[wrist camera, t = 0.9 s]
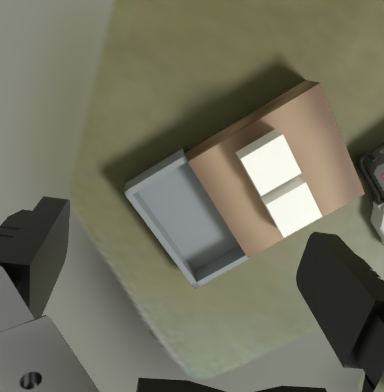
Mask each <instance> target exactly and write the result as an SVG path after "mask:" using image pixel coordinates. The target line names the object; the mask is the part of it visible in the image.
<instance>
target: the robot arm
mask: <svg viewBox="0 0 384 392" xmlns="http://www.w3.org/2000/svg"><path fill="white" fill-rule="evenodd" d="M69 216H70V201H69V200H68V199H60V198H52V197H43V198H42V199H41V200H40V202H39V203H38V204H37V206H36V207H35V208H34V210H33V211H29V210H21V211H19V212H17V213H15V214H13V215H11V216H9V217H8V218H7V219H6V220H5V221H4V222H3V223H2V224H1V226H0V392H100V391H99V390H98V388H97V387H96V385H95V384H94V382H93V381H92V379H91V378H90V376H89V375H88V373H87V372H86V370H85V369H84V367H83V366H82V364H81V363H80V361H79V360H78V358H77V357H76V355H75V354H74V352H73V351H72V349H71V348H70V346H69V345H68V343H67V342H66V340H65V339H64V337H63V336H62V334H61V333H60V331H59V330H58V328H57V327H56V325H55V324H54V322H53V321H52V319H51V318H50V317H48V316H46V315H45V316H42V314H43V311H44V309H45V307H46V304H47V302H48V300H49V297H50V295H51V292H52V290H53V288H54V285H55V283H56V281H57V278H58V276H59V273H60V271H61V269H62V267H63V264H64V261H65V258H66V253H67V247H68V232H69ZM380 278H381V277H380V276H379V275H378V274H377V273H376V272H375V271H373V269H372V268H371V267H370V266H369V265H368V264H367V263H366V262H365V261H364V260H363V259H362V258H360V257H359V256H357V255H356V254H355V253H354V252H353V251H352V250H351V249H350V248H349V247H348V246H347V245H346V244H345V243H344V242H343V241H342V240H341V238H340V237H339V236H337V235H335V234H327V233H319V232H314V233H312V234H311V235H310V237H309V239H308V242H307V245H306V248H305V250H304V253H303V256H302V259H301V261H300V264H299V267H298V270H297V275H296V281H297V286H298V289H299V291H300V292H301V294H302V296H303V298H304V299H305V301H306V303H307V305H308V306H309V308H310V310H311V312H312V313H313V315H314V317H315V319H316V320H317V322H318V324H319V325H320V327H321V329H322V331H323V332H324V334H325V336H326V338H327V339H328V341H329V343H330V345H331V346H332V348H333V350H334V351H335V353H336V355H337V357H338V358H339V360H340V362H341V364H342V366H343V367H344V368H358V369H363V370H364V373H363V375H362V377H361V379H360V382H359V387H358V392H384V281H383V280H381V279H380ZM41 316H42V317H41ZM136 392H225V391H221V390H218V389H215V388H211V387H208V386H204V385H201V384H197V383H194V382H191V381H185V380H167V379H149V378H139V379H138V385H137V390H136ZM257 392H327V391H326V389H325V388H311V387H292V386H280V387H275V388H270V389H266V390H261V391H257Z"/></svg>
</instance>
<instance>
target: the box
mask: <svg viewBox="0 0 384 392" xmlns="http://www.w3.org/2000/svg"><path fill="white" fill-rule="evenodd" d="M123 193H124V194H125V195H126V197H127V198H128V199H129V201H130V202H131V204H132V205H133V206H134V208H135V209H136V210H137V212H138V213H139V214H140V216H141V217H142V218H143V220H144V221H145V222H146V224H147V225H148V227H149V228H150V229H151V231H152V232H153V233H154V235H155V236H156V237H157V239H158V240H159V241H160V243H161V244H162V245H163V247H164V248H165V250H166V251H167V252H168V254H169V255H170V256H171V258H172V259H173V260H174V262H175V263H176V264H177V266H178V267H179V268H180V270H181V271H182V273H183V274H184V275H185V277H186V278H187V279H188V281H189V282H190V283H191V285H192V286H193V287H194V289H195V288H197V287H199V286H201V285H203V284H204V283H206V282H208V281H210V280H212V279H214V278H215V277H217V276H219V275H221V274H223V273H224V272H226V271H228V270H230V269H232V268H234V267H235V266H237V265H239V264H241V263H243V262H244V261H246V260H248V259H249V258H247V256H246V254H245V253H244V251H243V250H242V248H241V246H240V245H239V243H238V242H237V240H236V238H235V237H234V235H233V234H232V232H231V230H230V229H229V227H228V226H227V224H226V222H225V221H224V219H223V218H222V216H221V214H220V213H219V211H218V210H217V208H216V206H215V205H214V203H213V201H212V200H211V198H210V197H209V195H208V193H207V192H206V190H205V189H204V187H203V185H202V184H201V182H200V181H199V179H198V177H197V176H196V174H195V173H194V171H193V169H192V168H191V166H190V165H189V163H188V161H187V158H186V155H185V152H184V151H183V149H180V150H179V151H177V152H175V153H174V154H172V155H171V156H169V157H167V158H166V159H164V160H162V161H161V162H159V163H157V164H156V165H154V166H152V167H151V168H149V169H147V170H146V171H144V172H142V173H141V174H139V175H137V176H136V177H134V178H132V179H131V180H129V181H127V182H126V183H125V186H124V192H123Z"/></svg>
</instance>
